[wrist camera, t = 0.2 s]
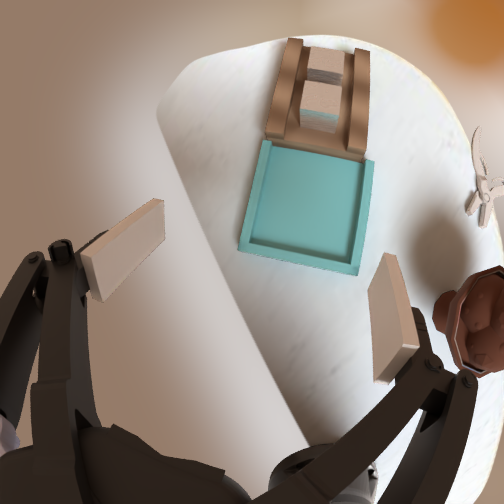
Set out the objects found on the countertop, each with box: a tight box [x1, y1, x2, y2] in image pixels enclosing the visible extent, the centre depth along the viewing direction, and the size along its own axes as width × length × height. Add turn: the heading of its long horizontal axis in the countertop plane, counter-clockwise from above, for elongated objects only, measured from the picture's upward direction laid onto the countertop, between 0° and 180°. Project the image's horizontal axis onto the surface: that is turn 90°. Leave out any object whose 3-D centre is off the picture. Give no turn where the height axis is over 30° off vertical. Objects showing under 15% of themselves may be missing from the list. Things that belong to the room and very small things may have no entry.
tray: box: [238, 140, 374, 276], centre depth 30 cm, size 13×13×2 cm
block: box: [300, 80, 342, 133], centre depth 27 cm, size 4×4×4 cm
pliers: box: [466, 126, 504, 229], centre depth 27 cm, size 10×2×15 cm
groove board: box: [265, 38, 370, 163], centre depth 30 cm, size 16×11×4 cm
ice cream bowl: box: [432, 265, 504, 378], centre depth 20 cm, size 11×11×15 cm
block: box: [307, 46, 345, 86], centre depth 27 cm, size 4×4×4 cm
